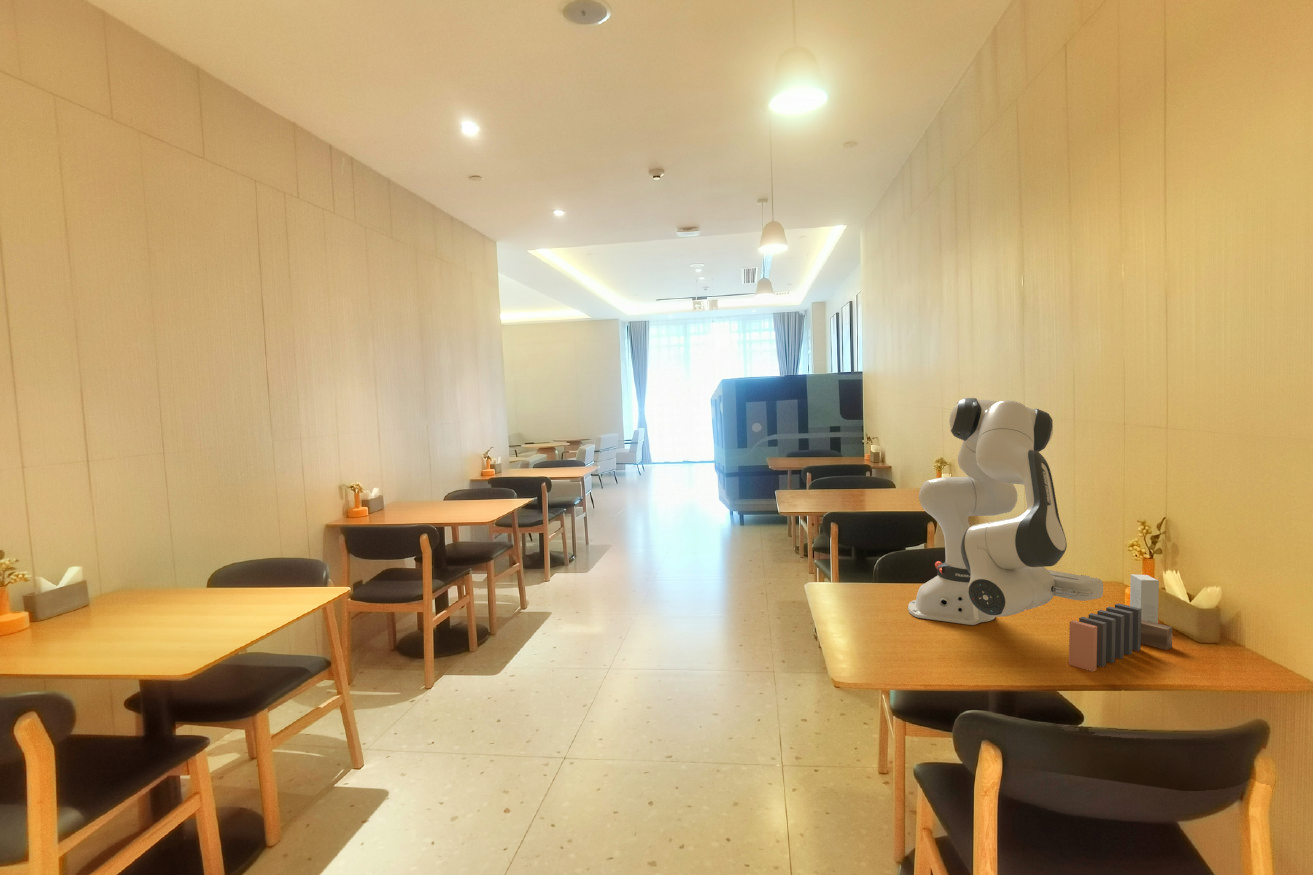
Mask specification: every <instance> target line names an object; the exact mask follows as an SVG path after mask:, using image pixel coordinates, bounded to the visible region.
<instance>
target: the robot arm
mask: <svg viewBox="0 0 1313 875" xmlns="http://www.w3.org/2000/svg"><path fill="white" fill-rule="evenodd" d="M948 423H949V428H950V432H951V433H952V435H953V437H955V438H957V439H959V440H961V441H962V444H961V446H960V449H959V452H958V455H957V464H958V467H959V469H960V470H961V471H962V472H963V473H964V474H965V475H966V476H942V477H937V478H931V479H928V480H925V481H924V482H923V484H921V486H920V488H919V491H918V500H919V504H920V506H921V507H922V509H923V510H924V512H926V514H928V515H930V516H931V517H932V518H933V519H934V520H935V521H936V522H937V523H938V525H939V527H940V529H941V531H942V534H943V537H944V549H945V552H944V553H945V561H944V562H942V561H939V560H938V561H935V563H934V566H935V569H936V570H937V575H936V576H934V577H933V578H931V579H930V580H928V581H927V582H924V583H923V584H921V586H920V587H919V588H918V591H917V594H916V597H915V598H916V599H913V600H911V601H910V602H908V606H907V609H908V610H907V611H908V613H909V614H910V615H912V616H913V617H915V618H918V619H926V620H933V621H941V622H948V623H955V624H962V625H970V626H975V625H978V624H980V623H986V622H990V621H993V620H994V619H995V618H996V617H998V618H999V617H1001V618H1002V617H1009V616H1014V615H1018V614H1020V613H1022V612H1025V611H1028V610H1033V609H1035V608H1039V607H1041V606H1044V605H1047V604H1048V603H1050V602H1051V600H1052V599H1053V598H1054V597H1058V598H1062V599H1063V598H1064V599H1068V600H1073V601H1082V602H1083V601H1084V602H1085V601H1091V600H1096V599H1097V600H1098V599H1101V598H1102V597H1103V595H1104V582H1103V581H1102V579H1100V578H1097V577H1093V576H1089V575H1086V574H1085V575H1084V574H1074V573H1069V572H1063V571H1058V570H1051V569H1047V568H1046V567H1053V566H1055V565H1057V564H1058V562H1060V560H1061V559H1062V557H1064V555H1065V553H1066V550H1067V544H1068V543H1067V538H1066V535H1065V531H1064V528H1063V526H1062V523H1061V519H1060V515H1059V509H1058V503H1057V497H1056V492H1055V486H1054V480H1053V476H1052V472H1051V469H1050V466H1049V462H1048V461H1047V460H1046V458H1045V457H1044V456H1043V455H1042V454H1041V452H1042V450H1043V451H1044V450H1045V448H1046V447H1047V445H1048V444H1049V443H1050V441H1051V439H1052V437H1053V434H1054V424H1053V418H1052V416H1051V415H1050V414H1049V413H1048V412H1046V411H1044V410H1042V409H1039V408H1031V407H1029V406H1028V407H1027V406H1026V405H1024V404H1023V403H1021V402H1018V401H1016V400H1010V399H1009V400H1001V401H996V400H988V399H977V398H975V397H964V398H962V399H960V400H958V401H957V402H956V404H955V406H954V407H953V409H952V410H951V412H950V415H949V422H948ZM1015 485H1023V486H1024V492H1025V499H1026V509H1025V511H1024V512H1023V513H1021V514H1019V515H1017V516H1014V517H1007V518H1004V519H1000V520H999V519H998V520H994V521H993V520H992V521H986V522H983V523H977V524H973V525H970V523H969V517H987V516H988V517H989V516H990V517H992V516H993V517H994V516H999V515H1003V514H1009V513H1011V512H1012V511H1013V510H1014V508H1015V507H1016V504H1017V502H1018V492H1017V488H1016V486H1015Z"/></svg>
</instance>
